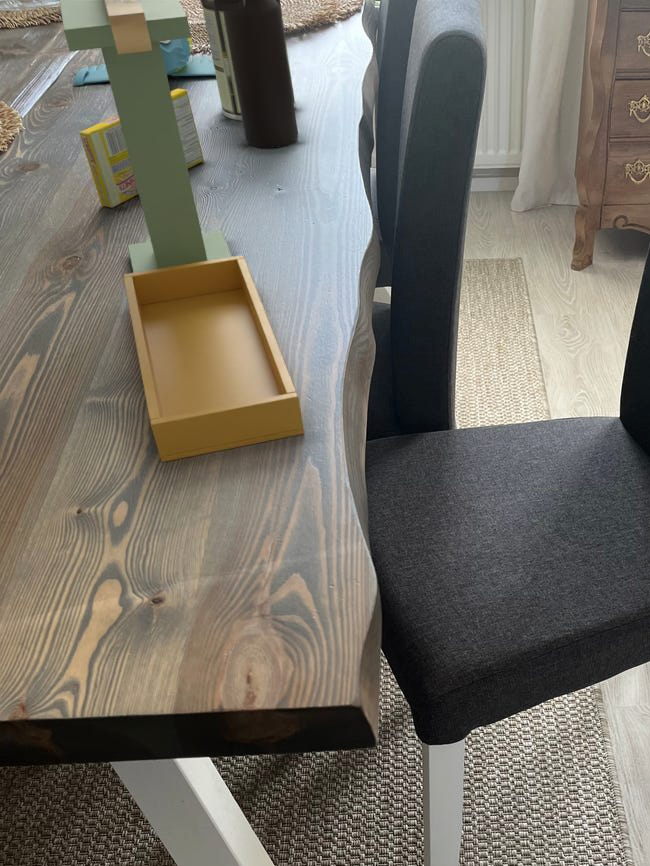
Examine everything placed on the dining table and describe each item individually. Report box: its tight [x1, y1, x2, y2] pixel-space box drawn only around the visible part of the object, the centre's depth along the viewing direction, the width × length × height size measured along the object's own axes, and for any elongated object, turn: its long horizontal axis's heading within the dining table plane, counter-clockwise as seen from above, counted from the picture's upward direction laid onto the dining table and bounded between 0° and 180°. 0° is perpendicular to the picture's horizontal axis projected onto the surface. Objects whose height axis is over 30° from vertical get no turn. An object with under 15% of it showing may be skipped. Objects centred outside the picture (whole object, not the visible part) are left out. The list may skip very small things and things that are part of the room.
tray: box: [122, 254, 305, 463], centre depth 89 cm, size 28×12×4 cm, turn 19°
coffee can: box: [199, 0, 297, 122], centre depth 134 cm, size 10×10×14 cm
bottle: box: [223, 0, 299, 149], centre depth 124 cm, size 7×7×20 cm
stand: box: [58, 0, 233, 273], centre depth 96 cm, size 14×10×24 cm
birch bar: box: [103, 0, 152, 55], centre depth 83 cm, size 20×3×3 cm, turn 19°
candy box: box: [79, 88, 205, 209], centre depth 118 cm, size 16×2×8 cm, turn 150°
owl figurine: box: [72, 12, 216, 87], centre depth 147 cm, size 28×9×15 cm
